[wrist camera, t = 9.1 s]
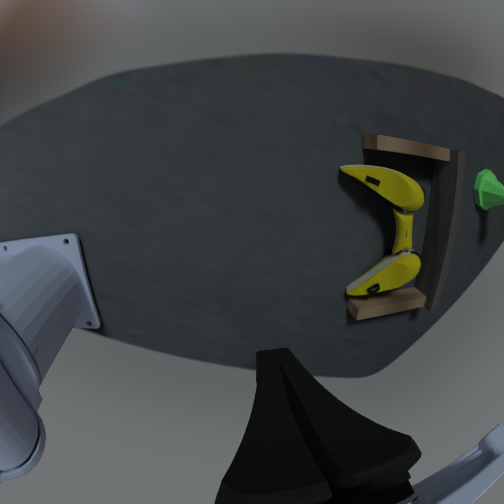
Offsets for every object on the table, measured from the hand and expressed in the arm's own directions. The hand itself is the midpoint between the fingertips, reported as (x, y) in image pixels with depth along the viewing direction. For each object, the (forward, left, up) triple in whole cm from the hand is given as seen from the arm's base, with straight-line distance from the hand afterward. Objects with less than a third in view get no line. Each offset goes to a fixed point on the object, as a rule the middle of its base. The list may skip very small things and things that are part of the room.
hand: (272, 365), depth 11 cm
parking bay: (+12, +3, -9) cm, 16 cm away
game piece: (+25, +7, -10) cm, 28 cm away
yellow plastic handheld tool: (+10, +3, -10) cm, 14 cm away
